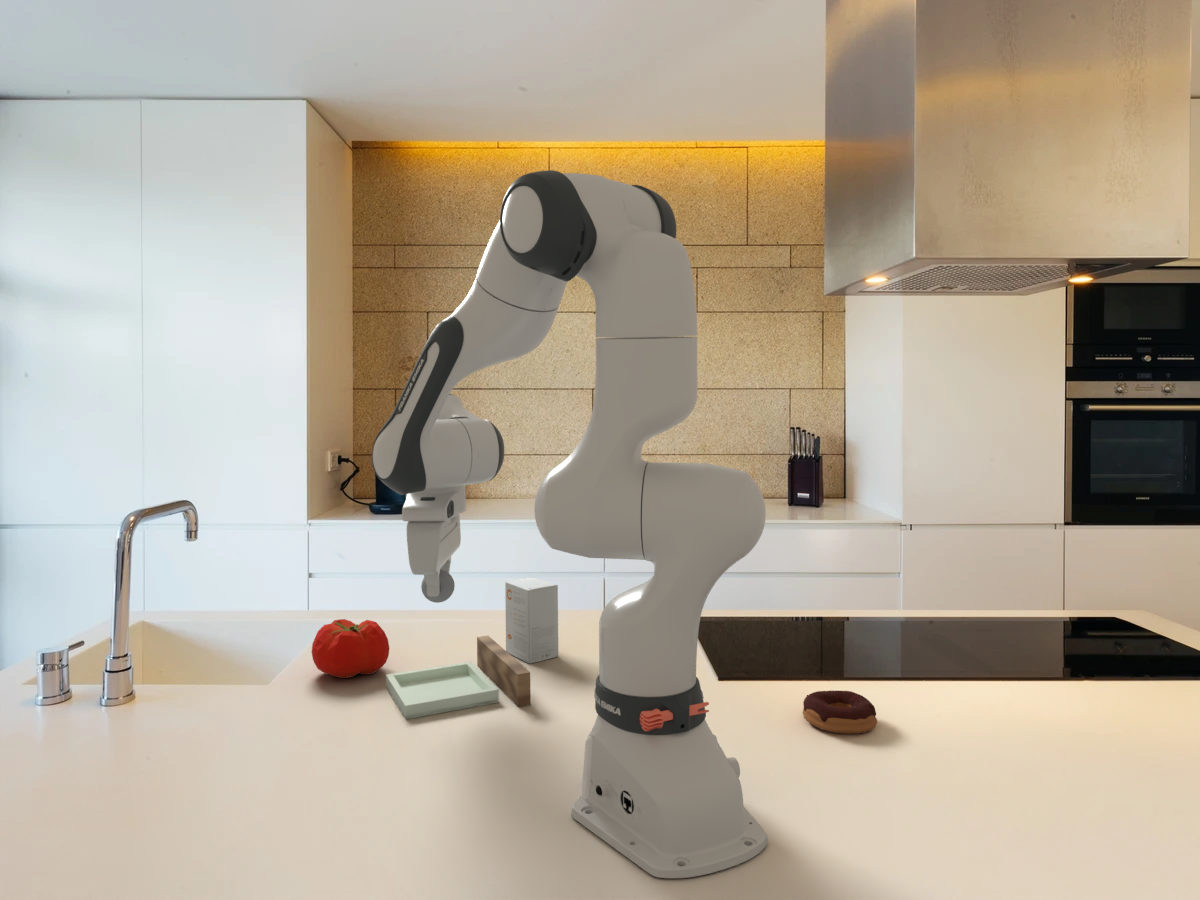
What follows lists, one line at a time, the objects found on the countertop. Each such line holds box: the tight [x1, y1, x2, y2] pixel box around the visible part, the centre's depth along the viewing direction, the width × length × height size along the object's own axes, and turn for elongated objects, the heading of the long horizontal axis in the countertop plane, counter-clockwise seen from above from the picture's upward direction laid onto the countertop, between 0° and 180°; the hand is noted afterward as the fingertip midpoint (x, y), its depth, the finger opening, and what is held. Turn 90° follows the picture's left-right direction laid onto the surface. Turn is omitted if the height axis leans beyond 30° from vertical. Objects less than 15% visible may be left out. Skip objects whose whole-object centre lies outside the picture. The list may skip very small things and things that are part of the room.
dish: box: [385, 660, 500, 720], centre depth 124 cm, size 14×14×2 cm
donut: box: [802, 690, 878, 735], centre depth 113 cm, size 10×10×4 cm
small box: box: [504, 576, 559, 664], centre depth 142 cm, size 8×6×13 cm
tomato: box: [311, 618, 390, 679], centre depth 134 cm, size 13×12×8 cm
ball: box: [420, 570, 456, 604], centre depth 123 cm, size 5×5×5 cm
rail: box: [476, 635, 532, 708], centre depth 129 cm, size 20×2×5 cm, turn 26°
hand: (438, 589), depth 123 cm, fingers closed on ball, 5 cm apart
